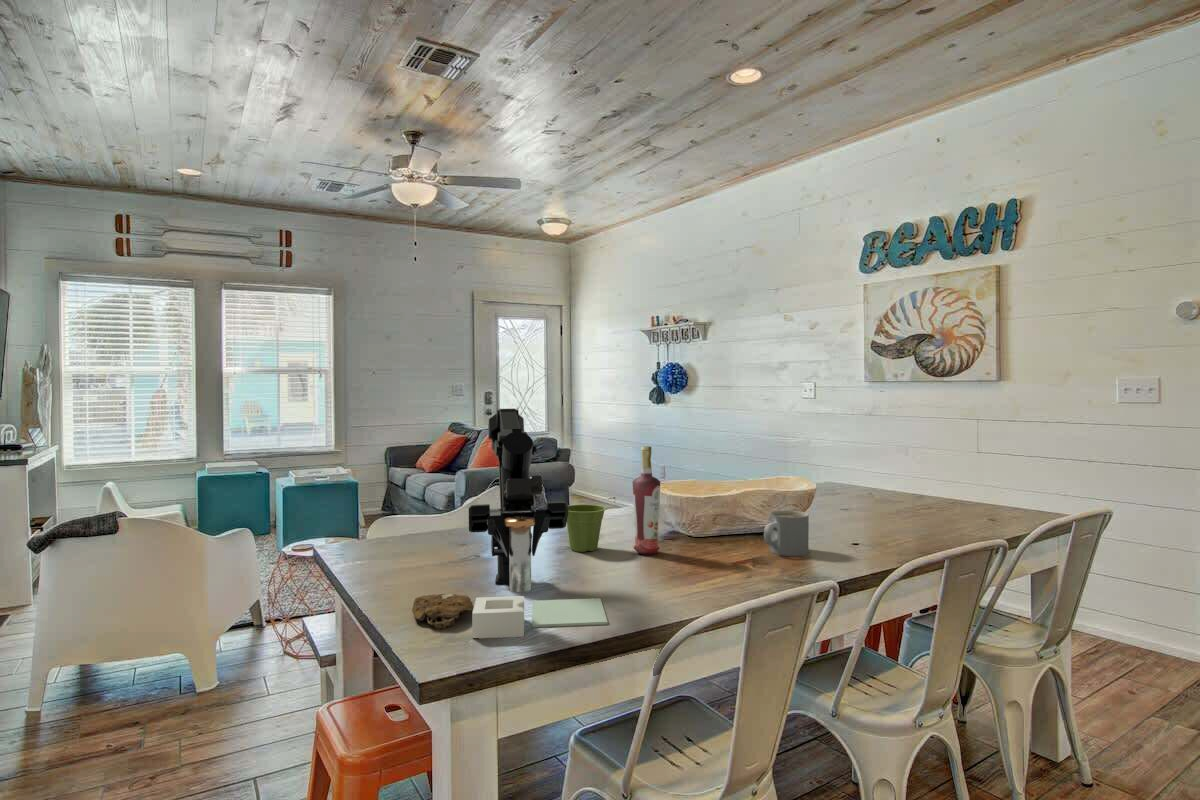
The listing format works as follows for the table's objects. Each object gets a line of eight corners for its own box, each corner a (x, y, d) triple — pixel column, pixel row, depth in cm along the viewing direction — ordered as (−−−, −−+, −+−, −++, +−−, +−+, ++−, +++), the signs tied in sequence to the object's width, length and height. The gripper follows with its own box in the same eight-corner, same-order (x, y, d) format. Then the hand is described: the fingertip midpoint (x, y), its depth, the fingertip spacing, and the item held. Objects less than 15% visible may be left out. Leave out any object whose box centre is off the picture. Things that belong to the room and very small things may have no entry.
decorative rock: (483, 628, 129) (462, 607, 143) (483, 605, 129) (463, 587, 143) (421, 634, 124) (406, 612, 138) (421, 611, 125) (407, 591, 138)
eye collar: (476, 621, 131) (476, 597, 131) (524, 619, 132) (524, 595, 132) (472, 638, 122) (472, 613, 122) (523, 636, 123) (523, 611, 123)
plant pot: (606, 554, 181) (605, 511, 180) (560, 554, 181) (560, 512, 181) (606, 544, 193) (606, 503, 192) (564, 544, 193) (563, 503, 192)
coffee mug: (793, 545, 190) (793, 509, 190) (816, 554, 180) (816, 515, 180) (751, 549, 185) (751, 512, 185) (772, 558, 176) (772, 519, 176)
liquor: (650, 557, 177) (650, 448, 176) (627, 553, 182) (626, 447, 181) (665, 552, 183) (665, 446, 182) (642, 548, 187) (642, 445, 187)
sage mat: (532, 603, 142) (532, 600, 142) (600, 600, 143) (600, 598, 143) (532, 627, 128) (532, 624, 128) (607, 624, 129) (607, 621, 129)
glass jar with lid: (504, 585, 131) (503, 517, 130) (533, 583, 132) (533, 515, 132) (506, 594, 125) (506, 523, 125) (537, 592, 127) (537, 521, 126)
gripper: (468, 462, 130) (468, 534, 120) (566, 459, 133) (575, 529, 123) (468, 497, 138) (469, 566, 128) (561, 493, 141) (569, 561, 131)
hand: (520, 555), depth 127 cm, fingers closed on glass jar with lid, 4 cm apart
